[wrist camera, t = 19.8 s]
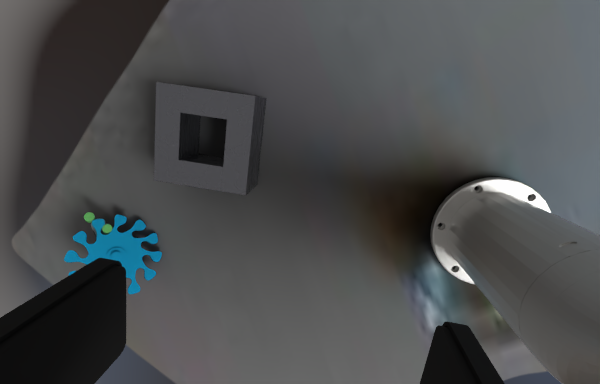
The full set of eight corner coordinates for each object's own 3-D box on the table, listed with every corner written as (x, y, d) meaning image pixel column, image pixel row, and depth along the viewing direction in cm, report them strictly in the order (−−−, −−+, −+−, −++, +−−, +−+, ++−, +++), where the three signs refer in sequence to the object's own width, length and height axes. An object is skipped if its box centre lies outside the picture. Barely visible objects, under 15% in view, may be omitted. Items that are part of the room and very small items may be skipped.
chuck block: (266, 98, 35) (255, 96, 31) (256, 184, 38) (245, 195, 33) (180, 85, 36) (156, 81, 31) (176, 171, 39) (153, 180, 34)
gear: (176, 271, 40) (89, 319, 35) (169, 271, 45) (92, 314, 40) (135, 192, 40) (40, 229, 34) (133, 202, 45) (49, 235, 39)
